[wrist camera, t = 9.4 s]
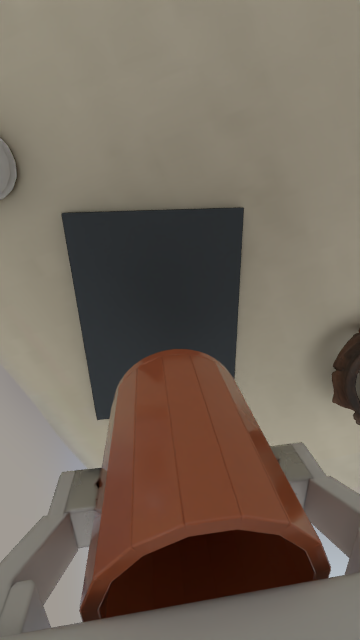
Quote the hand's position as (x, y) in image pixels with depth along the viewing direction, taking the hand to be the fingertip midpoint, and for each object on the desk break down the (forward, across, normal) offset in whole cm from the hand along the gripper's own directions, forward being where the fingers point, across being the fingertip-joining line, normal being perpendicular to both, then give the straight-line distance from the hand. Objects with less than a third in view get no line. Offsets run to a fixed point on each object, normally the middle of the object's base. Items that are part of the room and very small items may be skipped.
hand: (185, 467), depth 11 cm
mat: (+14, 0, 0) cm, 14 cm away
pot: (+4, 0, 0) cm, 4 cm away
